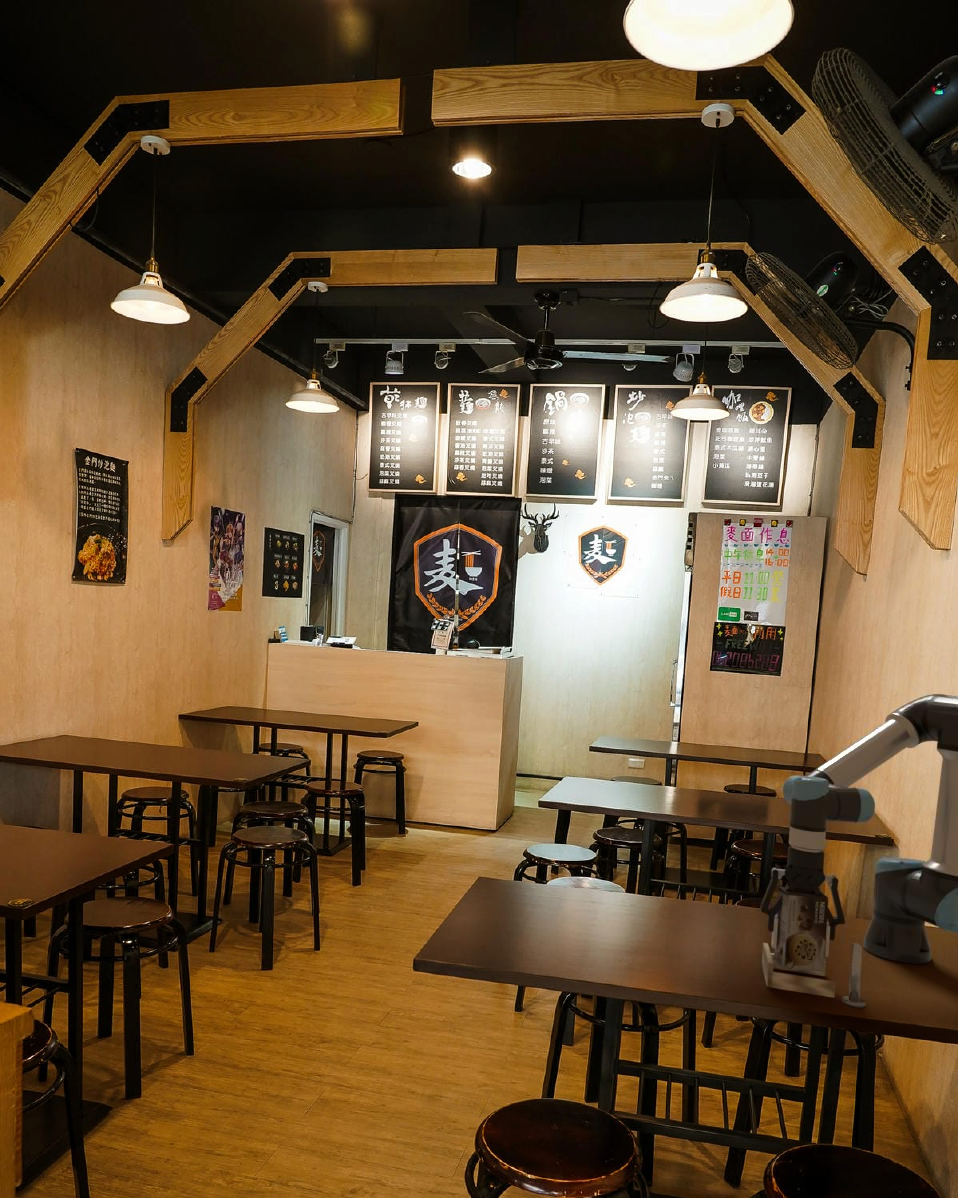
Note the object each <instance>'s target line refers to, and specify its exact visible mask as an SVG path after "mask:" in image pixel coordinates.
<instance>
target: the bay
mask: <svg viewBox="0 0 958 1198" xmlns="http://www.w3.org/2000/svg"><path fill="white" fill-rule="evenodd" d="M761 954H762V955H761V968H762V972H763V976H764V980H765V984H766V987H767V988H771V989H777V990H783V991H791V992H795V993H796V992H797V993H803V994H808V995H814V996H821V997H827V998H828V997H829V998H832V999H833V998H836V997H835V994H836V993H835V992H836V981H832V980H827V979H822V978H821V979H820V978H814V977H808V976H801V975H795V974H789V973H783V972H777V971H774V969H775V970H782V971H789V972H795V973H796V972H797V973H802V974H808V975H814V976H822V977H826V968H827V967H826V966H827V965H826V964H827V963H826V961H825V969H824V972H821V971H806V970H789V969H783V968H782V967H781V966H780V965H779V964H778V963H777V962H776V961H775V960H774V952H773V953H772V952H771V950H770V947H769V943H768V942H762V953H761Z"/></svg>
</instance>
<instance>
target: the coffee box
mask: <svg viewBox="0 0 958 1198" xmlns="http://www.w3.org/2000/svg"><path fill="white" fill-rule="evenodd" d="M777 891H778V892H777V898H778V897H779V896H782V895H783V898H782V907H781V908H780V909H779V911H778V912H777V913H776V915H777V917H778V929H777V943H776V949H775V948H773V953H774V960H775V961H776V962H777V963H778V964H779V965H780V966H781V967H782V968H783V969H789V970H806V971H821V972H824V969H825V970H826V968H825V962H826V956H825V950H826V931H827V923H828V919H827V913H828V908H829V896H827V895H825V894H824V892H822V891H820V892H821V894H822V896H816V894H815V893H814V892H812V893H809V892H806V891H797V890H794V891H793V892H789V891H786V889H785V886H778V889H777Z"/></svg>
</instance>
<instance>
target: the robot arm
mask: <svg viewBox="0 0 958 1198" xmlns="http://www.w3.org/2000/svg"><path fill="white" fill-rule="evenodd" d="M925 742H937V743H936V751H937V752H938V754H940V755H941V758H942V761H941V769H940V770H941V771H940V777H939V785H938V786H939V787H938V795H937V803H936V810H935V811H936V812H935V819H934V826H933V827H934V828H933V836H932V841H931V842H932V845H931V851H930V858H929V859H928V860H926V861H925V860H921V859H914V858H913V859H912V858H903V857H882V858H880V859H879V858H878V860H877V862H876V865H875V872H874V888H873V889H874V891H873V909H872V910H873V913H872V918H871V920H870V923H869V926H868V928H867V930H866V932H865V934H864V937H863V944H862V945H863V946H862V947H863V949H865V950H866V951H867V952H868V953H870V954H871V955H875V956H877V957H879V958H883V959H885V960H890V961H893V962H899V963H906V964H912V965H913V964H915V965H918V964H919V965H920V964H921V965H922V964H927V963H930V962H931V960H932V948H931V945H930V941H929V937H928V934H927V929H926V925H925V924H926V923H928V924H930V925H933V926H935V927H938V928H939V929H940V930H942V931H946V932H951V933H954V934H958V695H947V694H944V693H943V694H941V693H934V694H927V695H924V696H921V697H918V698H916V699H914V700H912V701H910V702H907V703H906V704H904V705H902V706H900V707H899V708H897V709H895V710H894V711H892V712H891V713H890V714H887V715H886V717H885V720H884V723H882V724H881V725H879V726H877V727H876V728H875V729H873V730H872V731H870V732H869V733H867V734H866V735H864V736H863V737H861V738H860V739H859V740H857V741H855V742H854V743H853V744H851V745H849V746H848V747H847V748H845V749H844V750H842V751H840V752H839V753H838V754H836V755H835V756H833V757H832V758H830V759H829V760H827V761H826V762H824V763H823V764H821V765H820V766H819V767H817V768H815V769H814V770H812V771H811V772H809V773H808V774H805V775H802V774H801V775H799V774H798V775H797V774H796V775H795V774H794V775H791V776H789V777H788V778H786V779H785V782H784V783H783V786H782V795H783V798H784V800H785V801H786V803H788V804H789V805H790V818H789V819H790V821H789V833H788V844H789V845H790V846H788V848H787V858H786V859H787V861H786V863H787V864H786V866H785V868H784V869H781V868H777V867H772V868H771V878H770V880H769V882H768V883H769V884H768V885H767V888H766V891H765V893H764V895H763V898H762V901H761V903H760V906H759V908H760V912H762V913H764V914H765V915H767V930H768V932H771V941H770V942H771V943H770V945H771V948H772V949H774V948H775V949H776V943H777V929H778V917H777V912H778V911H779V909H780V908H781V907H782V898H783V895H782V896H779V897H778V896H777V897H776V899H775V900H774V902H773V903H772V904H771V906H770V903H771V900H772V898H773V896H774V895H775V890H776V888H777V886H778V883H779V880H782V877H783V876H785V877H786V879H787V880H788V882H787V883H786V885H785V886H784V887H785V889H786V891H789V892H793V891H794V890H797V891H806V892H809V893H812V892H814V893H815V894H816V896H822V894H821V892H822V891H821V890H820V888H819V887H821V885H822V884H823V883H824V882H826V884H827V886H828V887H829V888H830V893H831V897H832V901H833V902H832V903H833V906H834V910H835V915H836V916H833V914H832V912H831V910H830V908H829V907H828V913H827V931H826V950H825V958H827V957H829V951H830V950H829V949H830V941H835V939H836V938H835V937H836V927H837V926H839V925H844V924H845V923H846V920H845V916H844V915H845V914H844V910H843V906H842V903H841V899H840V894H839V891H838V890H839V889H838V888H839V878H837V876H836V875H826V874H825V872H824V865H825V852H824V850H825V848H826V832H827V824H828V822H836V823H837V822H838V823H854V824H857V823H866V822H869V821H870V820H872V818H873V816H874V814H875V809H876V803H875V798H874V796H873V795H872V794H871V792H870V791H868V790H867V789H866V788H865V789H864V788H858V787H854V786H853V787H852V785H854V784H855V783H856V782H859V780H861V779H862V778H864V777H865V776H867V775H868V774H870V773H871V772H872V771H874V770H875V769H877V768H878V767H880V766H881V765H883V764H884V763H886V762H888V760H890V759H892V758H893V757H895V756H896V755H897V754H899V753H901V752H902V751H903V750H905V749H906V748H907V749H914V748H916V747H917V746H918V745H920V744H922V743H925Z"/></svg>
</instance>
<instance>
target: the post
mask: <svg viewBox="0 0 958 1198" xmlns="http://www.w3.org/2000/svg"><path fill="white" fill-rule="evenodd" d="M863 945H864V944H861V943H858V942H852V943H851V955H850V971H849V987H848V988H849V989H848V995H844V996H842V998H841V999H842V1000H841V1001H842V1003H843V1004H844V1005H845V1006H849V1007H852V1008H858V1009H862V1008H865V1007H866V1002H865V1000H863V999H861V998H860V990H861V978H862V977H861V975H862V974H861V973H862V959H863V947H864V946H863Z"/></svg>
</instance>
